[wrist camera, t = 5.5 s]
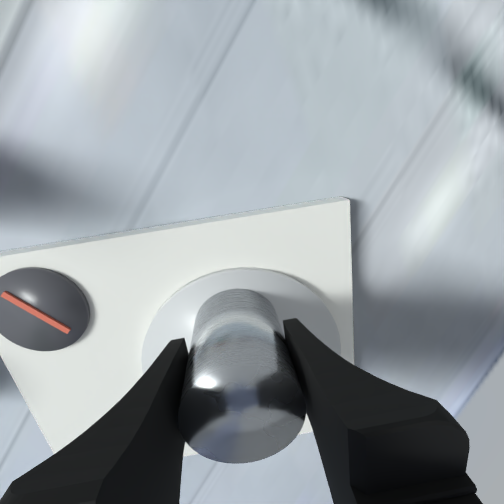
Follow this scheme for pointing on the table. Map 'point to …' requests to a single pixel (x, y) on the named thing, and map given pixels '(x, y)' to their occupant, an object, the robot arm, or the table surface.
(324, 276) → the scale
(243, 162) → the table surface
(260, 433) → the cylinder
